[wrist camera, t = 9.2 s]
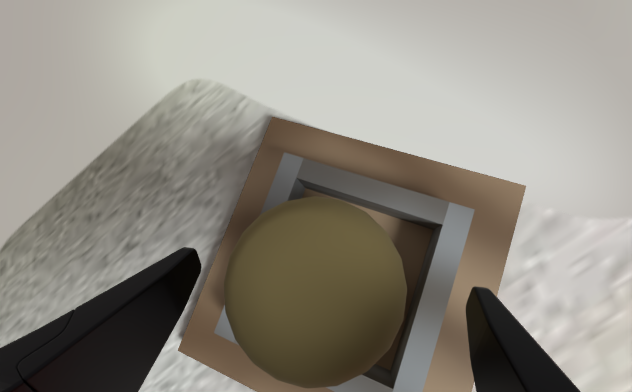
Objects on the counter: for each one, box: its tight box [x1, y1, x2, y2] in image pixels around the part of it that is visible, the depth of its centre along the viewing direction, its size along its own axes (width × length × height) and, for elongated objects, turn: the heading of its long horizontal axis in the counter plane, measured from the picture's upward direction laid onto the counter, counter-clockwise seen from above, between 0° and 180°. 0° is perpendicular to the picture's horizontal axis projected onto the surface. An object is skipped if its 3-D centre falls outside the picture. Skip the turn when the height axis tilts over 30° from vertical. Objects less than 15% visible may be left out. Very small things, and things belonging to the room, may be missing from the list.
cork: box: [224, 196, 407, 389], centre depth 13 cm, size 6×6×11 cm
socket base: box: [178, 117, 526, 392], centre depth 17 cm, size 16×16×4 cm
